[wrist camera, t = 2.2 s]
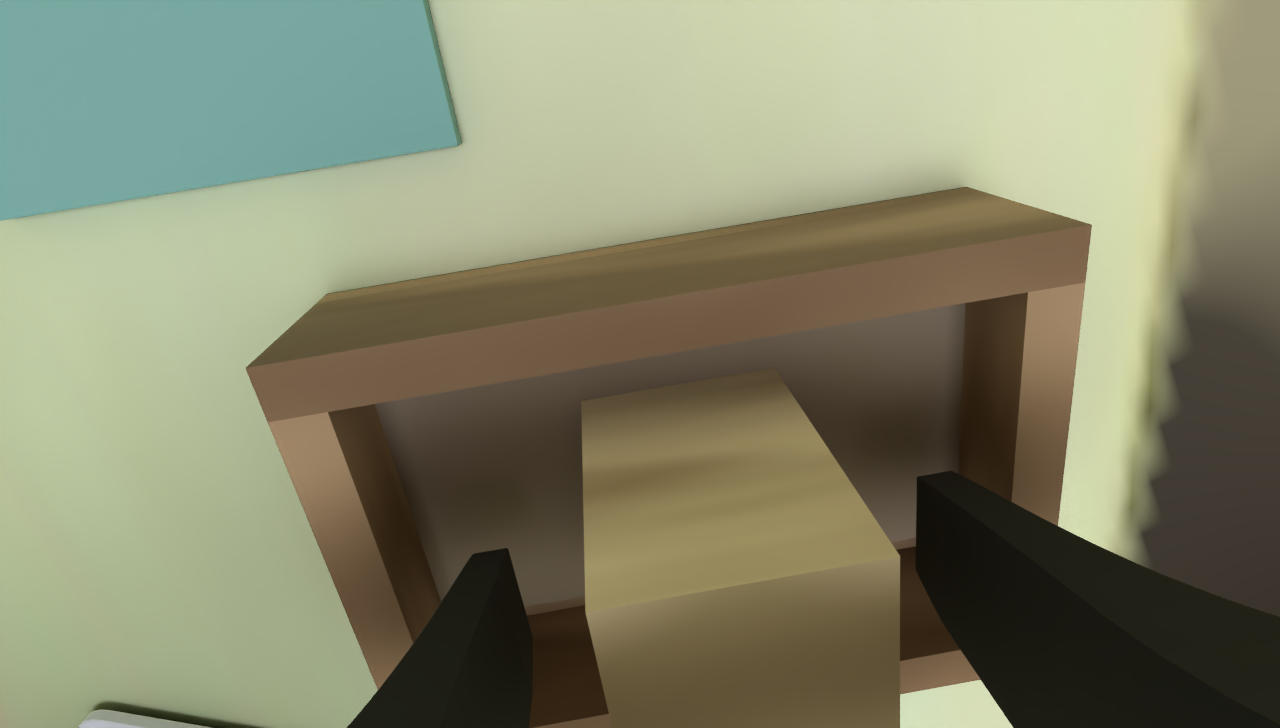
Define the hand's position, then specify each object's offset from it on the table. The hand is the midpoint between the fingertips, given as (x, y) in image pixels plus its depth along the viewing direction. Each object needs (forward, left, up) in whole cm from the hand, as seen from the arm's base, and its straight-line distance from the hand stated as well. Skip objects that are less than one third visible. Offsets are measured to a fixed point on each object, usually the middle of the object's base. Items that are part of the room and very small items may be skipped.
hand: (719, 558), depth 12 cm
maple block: (0, 0, -3) cm, 3 cm away
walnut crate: (-1, 0, -5) cm, 5 cm away
